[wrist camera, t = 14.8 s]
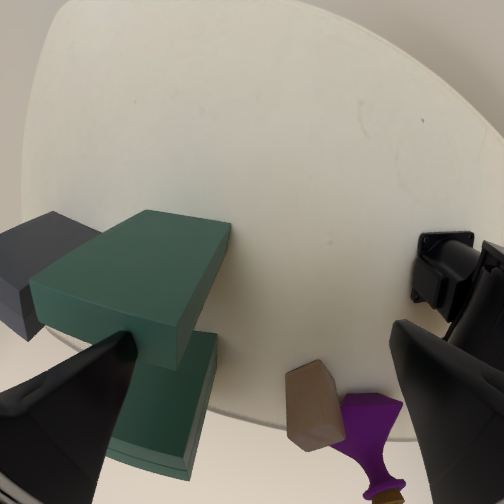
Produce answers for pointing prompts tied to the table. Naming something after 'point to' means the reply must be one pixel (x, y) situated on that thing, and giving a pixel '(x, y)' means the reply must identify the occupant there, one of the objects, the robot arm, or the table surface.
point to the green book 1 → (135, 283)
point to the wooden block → (313, 408)
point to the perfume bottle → (371, 442)
